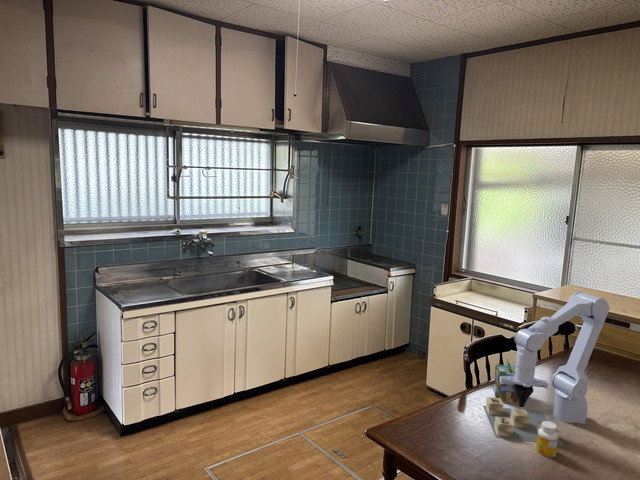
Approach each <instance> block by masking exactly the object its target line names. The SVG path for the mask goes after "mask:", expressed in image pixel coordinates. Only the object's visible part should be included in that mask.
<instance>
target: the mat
mask: <svg viewBox="0 0 640 480" xmlns="http://www.w3.org/2000/svg"><path fill="white" fill-rule="evenodd" d="M482 408H483V410H484V412H485V414H486V417H487V419H488V422H489V425H490V426H491V429H492V432H493V435H494V437H495V439H503V440H513V441H521V442H529V443H536V444H537V437H538V434H537V425H538V421H549V420H548V418H547V416H546V414H545V413H544V412H543V411H538V410H536V411H535V410H528V409H527V410H526V409H525V410H526V412H527V413H528V415H529V426H528V428H519V427H513V436H512V437H504V436H497V434H496V431H495V429H494V425H495V416H496V417H506V418H510V416H511V408H510V407H503V415H502V416H500V415H491V414H488V412H487V409H486V405H483V406H482ZM557 446H563V447H564V446H565V444H564V443H563V442H562V440H561V438H560V437H559V436H558V443H557Z"/></svg>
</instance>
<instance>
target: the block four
mask: <svg viewBox="0 0 640 480" xmlns="http://www.w3.org/2000/svg"><path fill="white" fill-rule="evenodd" d="M485 406H486V409H487V412H488V414H491V415H500V416H502V415H503V408H504V406H505V404H504V402H502V401H501V398H496V397H490V396H487V397H486V403H485Z"/></svg>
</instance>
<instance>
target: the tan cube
mask: <svg viewBox="0 0 640 480" xmlns="http://www.w3.org/2000/svg"><path fill="white" fill-rule="evenodd" d="M542 422H543V421H538V425H537V434H538V430H539V429H540V428H541V425H542ZM556 432H557V434H558V433H559V430H558V429H557V430H556ZM558 435H559V434H558Z"/></svg>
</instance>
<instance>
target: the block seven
mask: <svg viewBox="0 0 640 480" xmlns="http://www.w3.org/2000/svg"><path fill="white" fill-rule="evenodd" d="M513 427H514V425H513V423H512V421H511V419H510V418H506V417H496V416H495V425H494V429H495V431H496V434H497V436H504V437H512V436H513Z"/></svg>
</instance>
